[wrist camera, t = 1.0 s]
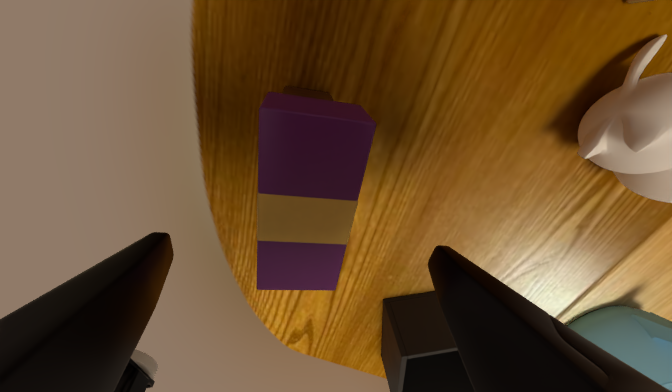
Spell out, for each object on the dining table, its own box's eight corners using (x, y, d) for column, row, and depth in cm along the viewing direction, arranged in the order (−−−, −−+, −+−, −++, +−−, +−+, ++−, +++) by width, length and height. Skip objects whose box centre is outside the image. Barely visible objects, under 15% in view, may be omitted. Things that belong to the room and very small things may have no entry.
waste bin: (381, 355, 37) (395, 410, 32) (383, 299, 30) (401, 357, 25) (467, 340, 38) (496, 392, 33) (489, 282, 31) (530, 335, 26)
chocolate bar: (330, 252, 14) (336, 291, 12) (262, 250, 14) (255, 290, 11) (361, 105, 10) (378, 123, 8) (267, 90, 9) (257, 106, 7)
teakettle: (533, 331, 39) (604, 421, 30) (639, 282, 35) (758, 368, 26) (556, 361, 46) (618, 441, 37) (646, 324, 42) (740, 402, 33)
